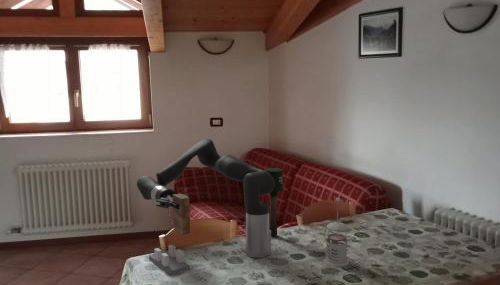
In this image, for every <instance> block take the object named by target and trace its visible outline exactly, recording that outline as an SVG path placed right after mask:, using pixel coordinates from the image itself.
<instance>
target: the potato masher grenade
mask: <svg viewBox="0 0 500 285" xmlns="http://www.w3.org/2000/svg"><path fill="white" fill-rule="evenodd" d="M264 171H267V172H268V173H270V174H271V176H272V177H273V179H274V182H275V187H274V189H273V190H272V191H271V192H270V193H269V230H271V238H272V237H273V238H274V237H275V238H276V237H277V236H278V226H277V206H278V205H277V204H278V193H279V192H280V193H281V192H283V191H284V187H283V186H284V184H283V183H284V182H283V180H284V179H283V169H282V168H279V167H268V168H265V169H264Z"/></svg>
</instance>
